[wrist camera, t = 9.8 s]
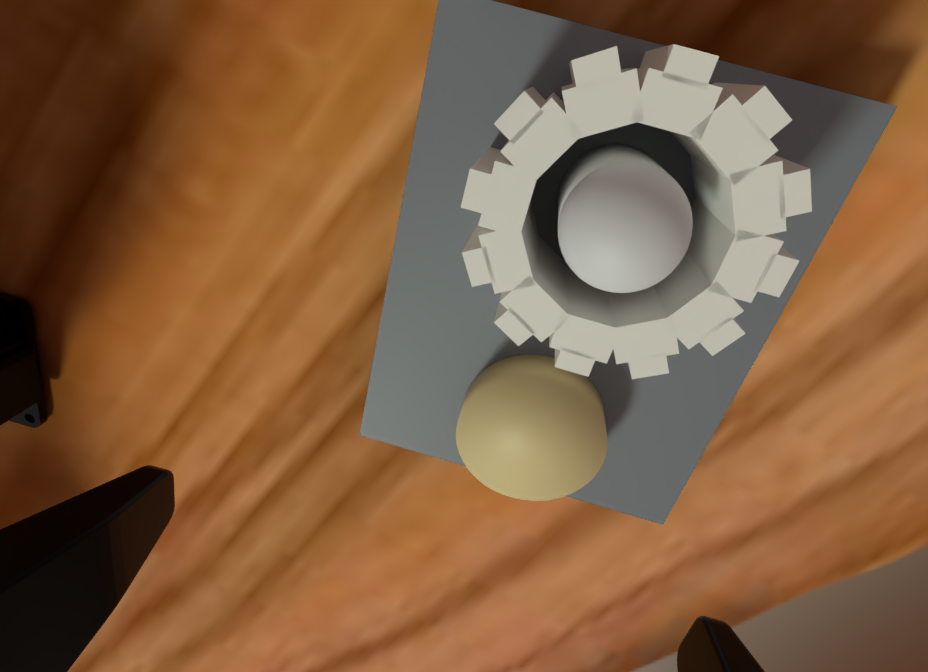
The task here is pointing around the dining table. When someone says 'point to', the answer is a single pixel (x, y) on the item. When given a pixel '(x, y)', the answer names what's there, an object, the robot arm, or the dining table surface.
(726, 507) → the dining table surface
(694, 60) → the planet gear
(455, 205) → the carrier board
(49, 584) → the robot arm
